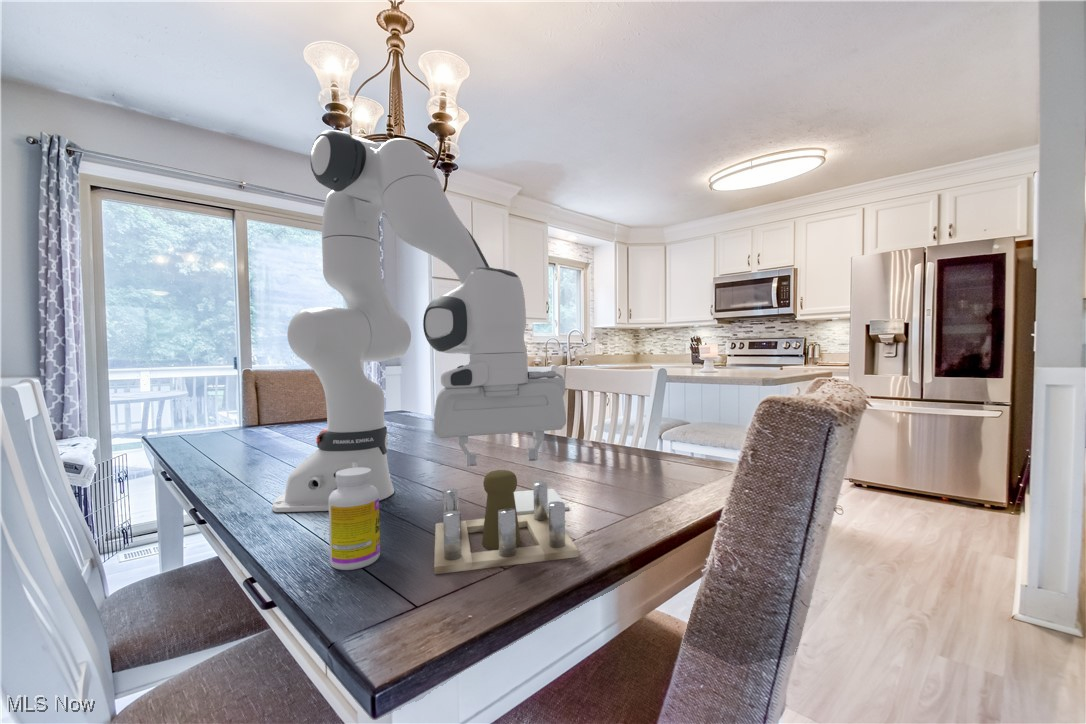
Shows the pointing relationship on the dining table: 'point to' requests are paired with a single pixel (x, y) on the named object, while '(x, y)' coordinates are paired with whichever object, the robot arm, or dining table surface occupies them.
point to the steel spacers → (504, 523)
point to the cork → (498, 505)
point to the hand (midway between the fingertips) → (502, 462)
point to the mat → (526, 501)
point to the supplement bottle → (354, 520)
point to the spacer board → (493, 558)
